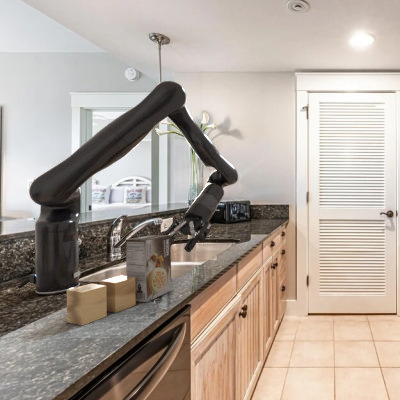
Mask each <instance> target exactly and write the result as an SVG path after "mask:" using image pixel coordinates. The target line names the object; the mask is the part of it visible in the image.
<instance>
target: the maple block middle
mask: <svg viewBox="0 0 400 400" xmlns="http://www.w3.org/2000/svg"><path fill="white" fill-rule="evenodd" d="M99 283H100V285H105V286H106V303H107V312H108V313H115V314H117V313H119V312H121V311H124V310H126V309H129V308H131V307H132V308H133V307H134V306H136V301H135V277H129V276H127V275H117V276H113V277H109V278H105V279H103V280H100V281H99Z"/></svg>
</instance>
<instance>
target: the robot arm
mask: <svg viewBox="0 0 400 400" xmlns="http://www.w3.org/2000/svg"><path fill="white" fill-rule="evenodd" d="M186 102H187V93H186V91H185V88H184V87H183V86H182V85H181V84H179V83H178V82H176V81H173V80H164V81H161V82H159V83H157V84H156V85H155V87H154V88H153V89H151V91H150V92H149V93H148V95H146V96H145V97H144V98H143V99H142V100H141V101H140V102H139V103H138V104H136V105H135V106H134V107H132V108H130V109H129V110H127V111H125V112H124V113H122V114H120V115H119V116H118V117H116V118H115V119H113V120H112V121H111V122H109V123H108V124H106V125H105V126H103V127H102V128H101V129H100V130H99V131H97V132H96V133H95V134H94V135H92V137H91V138H89V139H88V140H87V141H85V143H83V144H82V145H81V146H79V148H77V149H76V150H75V151H74V152H73V153H72V154H71V155H69V156H68V157H67V158H65V159H64V160H62V161H61V162H60V163H58V164H57V165H55V166H53V167H52V168H50V169H49V170H47V171H45V172H44V173H42V174H41V175H38V177H36V178H35V179H33V180H32V182H31V184H30V186H29V188H28V195H29V197H30V199H31V200H32V202H34V203H35V204H37V205H38V206H40V211H39V216H38V218H37V219H36V221H35V223H34V242H35V243H34V246H35V249H34V250H35V259H34V273H32V274H29V278H27V279H25V280H24V281H22V282H21V283H19V285H18V286H17V288H18V289H22V288H23V287H24V286H25V285H27V284H35V286H34V287H35V295H38V296H49V295H50V296H52V295H59V294H64V293H67V290H69V289H73V288H76V287H80V286H81V285H80V284H81V283H80V276H81V270H80V247H79V246H80V244H79V243H80V241H79V240H80V239H79V223H80V220H81V211H82V210H81V209H82V193H81V191H82V190H81V186H83V185H84V184H85V183H86V182H87V181H88V180H90V178H92V177H93V176H94V175H96V174H97V173H99V172H101V171H103V170H105V169H107V168H108V167H111V166H113V165H114V164H116V163H117V162H119V161H121V160H122V159H123V158H125V157H126V156H127V155H128V154H129V153H131V152H132V151H133V150H134V149H135V148H137V146H139V145H140V143H142V142H143V140H145V138H146V137H148V135H149V134H150V133H151V132H152V131H153V130H154V128H155V127H156V126H157V125H158V124H160V123H161V122H162V121H164V120H165V119H166V118H168V119H169V120H170V121H171V122H172V123H173V124H174V126H175V127H176V128H177V129H178V130H179V132H180V133H181V134H182V136H183V137H184V139H185V140H186V142H187V143H188V145H189V146H190V148H191V149H192V150H193V152H194V153H195V155H196V157H198V159H199V160H200V162H201V164H203V166H204V167H207V168H213V169H215V170H214V171H212V172H211V173H210V174H209V176H208V178H207V180H206V184H205V187H204V188H203V189H202V191H201V192H200V193H199V195H198V196H196V198H195V199H194V201H193V202H192V203H191V204H190V205H189V207H188V209H187V210H186V211H185V213H184V219H183V220H182V221H179V220H177V219H175V220H174V221H173V222H172V223H171V225H169V227H168V228H167V229H166V230H165V232H164V233H163V235H170V241H171V246H172V245H173V244H174V243H175V241H176V240H177V239H179V238H180V239H181V238H182V237H184V236H191V237H190V238H189V239H188V241H187V243H186V244H185V245H184V247H183V249H184V250H185V252H186V253H191V252H192V251H193V249H194V248H195V247H196V244H198V243H199V242H200V241H201V242H204V241H206V239H207V237H208V235H209V234H210V232H211V230H212V228H213V226H212V225H211V223H210V220H211V219H212V218H213V215H214V214H215V212H216V211H217V209H218V206H219V204H220V203H221V201H222V199H224V197H225V190H224V188H226V187H229V186H233V185H235V184H236V183H237V182H238V181H239V173H238V171H237V169H236V167H235V166H234V165H233V164H232V163H231V162H230V161H229V160H228V159H227V158H226V157H224V156H223V155H222V154H221V153H220V151H219V149H218V148H217V146H215V144H214V142H213V140H212V139H211V138H210V137H209V136H208V135H207V133H206V132H205V131H204V130H203V129H202V128H201V127H200V125H198V123H197V122H196V120H195V119H194V117H192V115H191V113H190V111H189V110H188V107H187V106H186Z"/></svg>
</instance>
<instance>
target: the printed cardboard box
mask: <svg viewBox="0 0 400 400" xmlns="http://www.w3.org/2000/svg"><path fill="white" fill-rule="evenodd" d="M171 250H172V245H171V241H170V235H165V234H151V235H150V234H149V235H145V236H138V237H134V238H133V237H132V238H128V239H125V259H126V260H125V265H126V266H125V267H126V268H125V269H126V276H129V277H135V302H141V303H148V302H150V301H152V300H155V299H157V298H159V297H161V296H163V295H165V294H167V293H170V292H171V291H172V289H173V288H172V257H171V256H172V251H171Z"/></svg>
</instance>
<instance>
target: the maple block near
mask: <svg viewBox="0 0 400 400" xmlns="http://www.w3.org/2000/svg"><path fill="white" fill-rule="evenodd" d="M107 314H108V311H107V303H106V286H105V285H101V284H97V283H88V284H83V285H80V287H76V288H73V289H69V290H67V292H66V323H70V324H74V325H79V326H86V325H88V324H91V323H93V322H95V321H99V320H100V319H103V318H106V317H108V316H107Z"/></svg>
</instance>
